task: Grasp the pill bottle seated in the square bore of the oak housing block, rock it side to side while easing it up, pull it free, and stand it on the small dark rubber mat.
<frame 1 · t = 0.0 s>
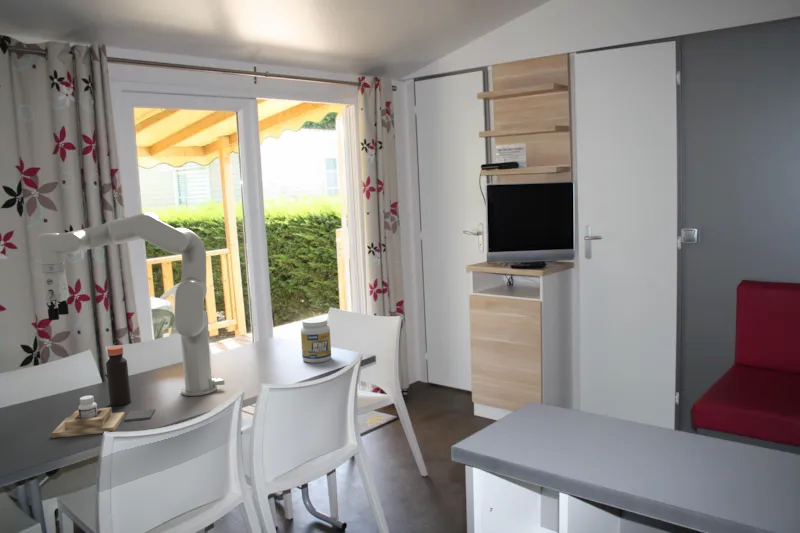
hand: (59, 317, 232), 31 cm above the table, tool pointing down, fingers open, 9 cm apart
housing: (89, 426, 211), on the table
supplement tub: (317, 360, 279), on the table
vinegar: (120, 403, 233), on the table
pill bottle: (90, 427, 211), resting in housing
mat: (140, 415, 219), on the table
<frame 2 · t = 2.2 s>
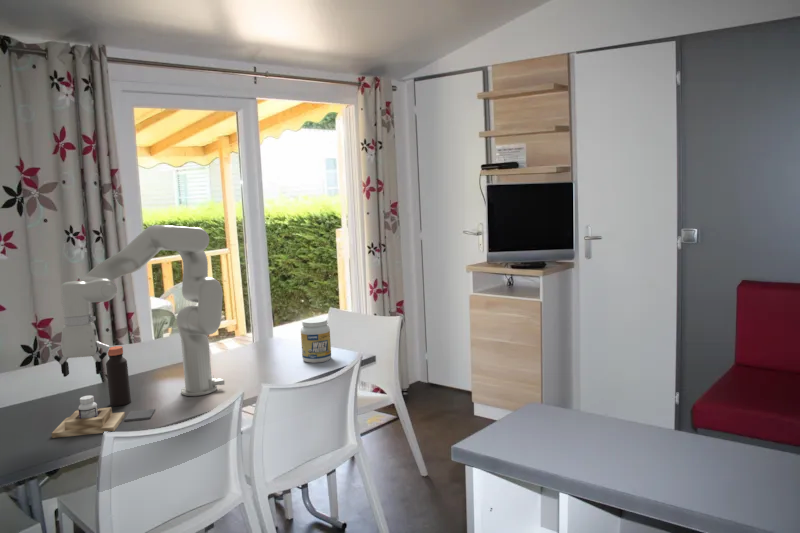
hand: (82, 374, 208), 17 cm above the table, tool pointing down, fingers open, 9 cm apart
nothing on the table moved.
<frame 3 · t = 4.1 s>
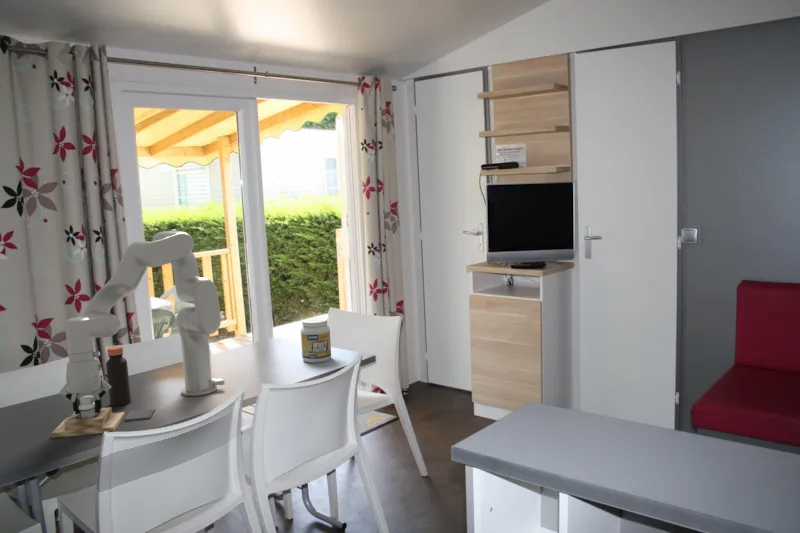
hand: (88, 411, 210), 5 cm above the table, tool pointing down, fingers closed on pill bottle, 5 cm apart
pill bottle: (90, 427, 211), resting in housing, touching gripper
everything else where it was.
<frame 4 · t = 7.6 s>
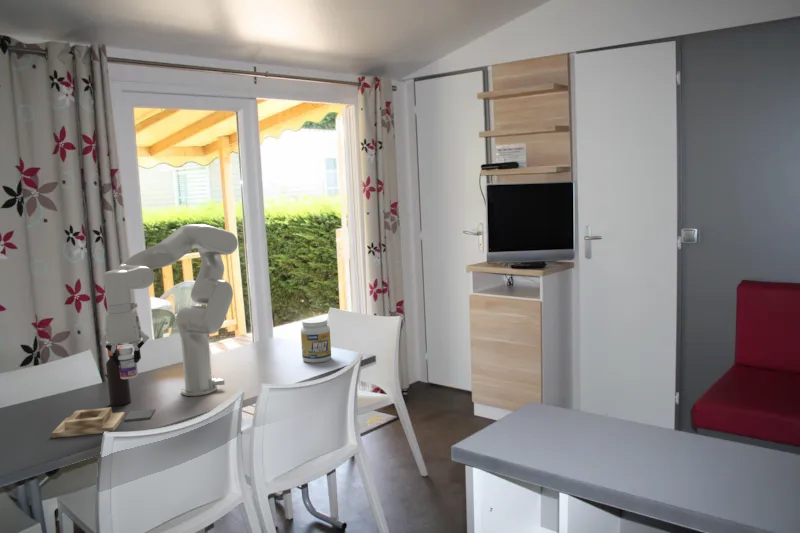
hand: (127, 362, 216), 19 cm above the table, tool pointing down, fingers closed on pill bottle, 5 cm apart
pill bottle: (129, 377, 216), point 13 cm above the table, touching gripper
everything else where it was.
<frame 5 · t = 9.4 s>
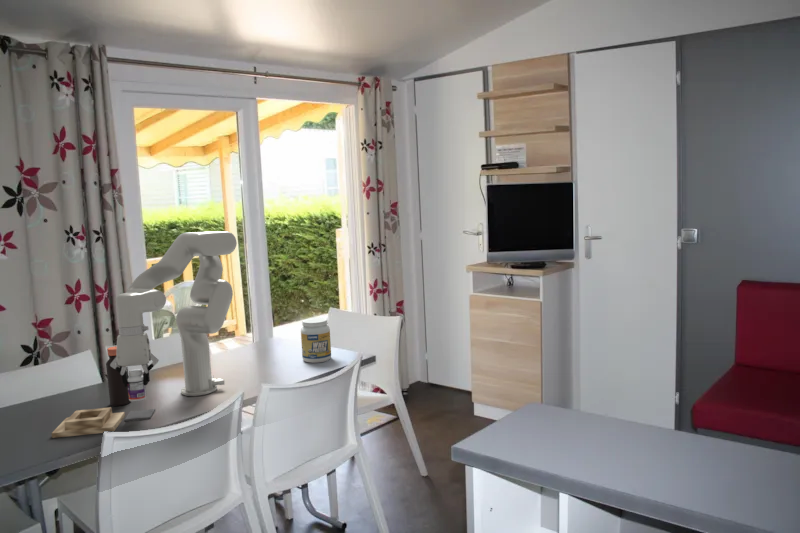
hand: (136, 384, 217), 11 cm above the table, tool pointing down, fingers closed on pill bottle, 5 cm apart
pill bottle: (137, 400, 218), point 6 cm above the table, touching gripper
everything else where it was.
when the fingers open (7 cm above the table, at t = 11.0 s): pill bottle drops 1 cm, resting on mat.
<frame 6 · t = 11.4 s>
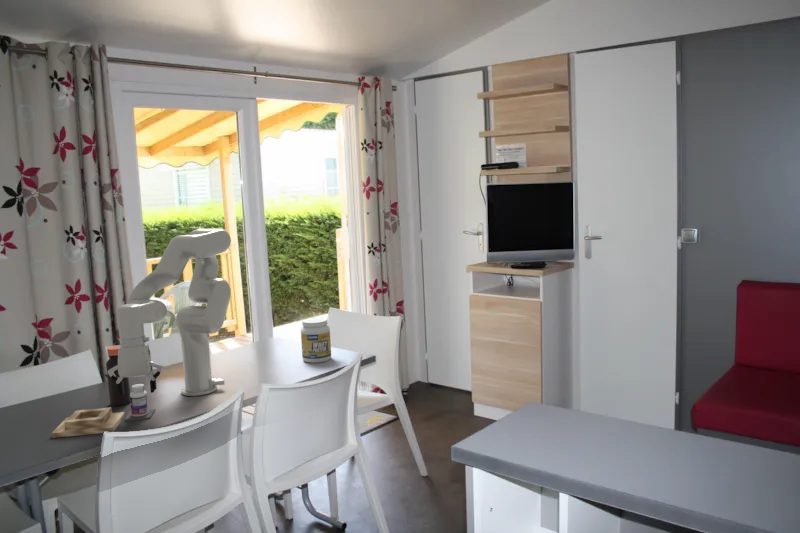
hand: (137, 392, 218), 8 cm above the table, tool pointing down, fingers open, 9 cm apart
pill bottle: (140, 414, 219), resting on mat
everything else where it was.
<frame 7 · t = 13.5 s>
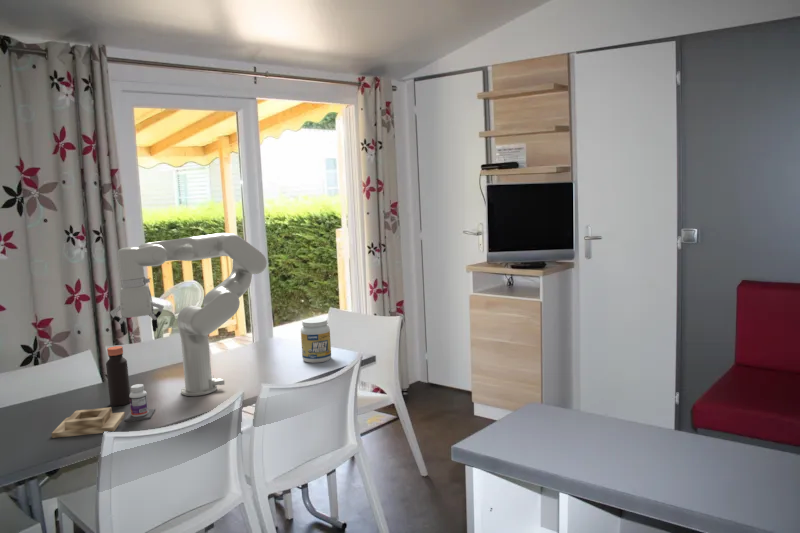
hand: (140, 332, 228), 25 cm above the table, tool pointing down, fingers open, 9 cm apart
nothing on the table moved.
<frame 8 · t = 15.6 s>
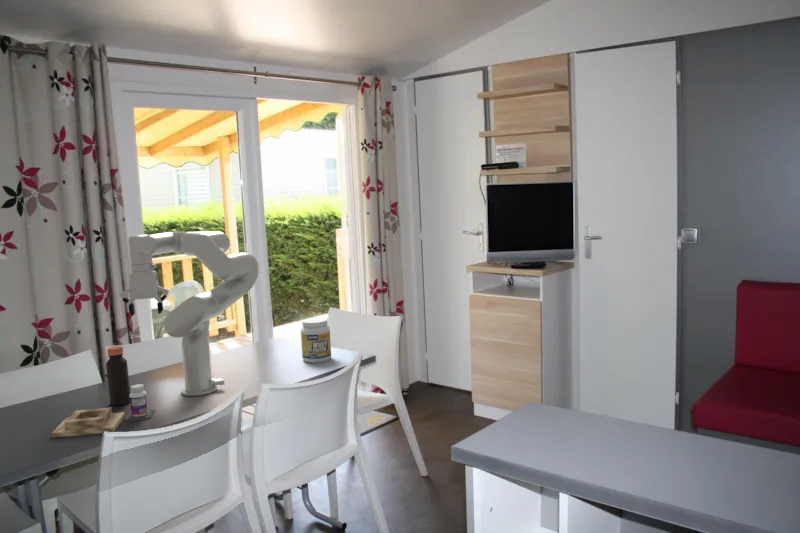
hand: (146, 313, 246), 28 cm above the table, tool pointing down, fingers open, 9 cm apart
nothing on the table moved.
at the end: pill bottle inside the target area on the mat (0.3 cm from its centre), point 0.4 cm above the mat's base; pill bottle tilted 0°; the gripper is holding nothing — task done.
